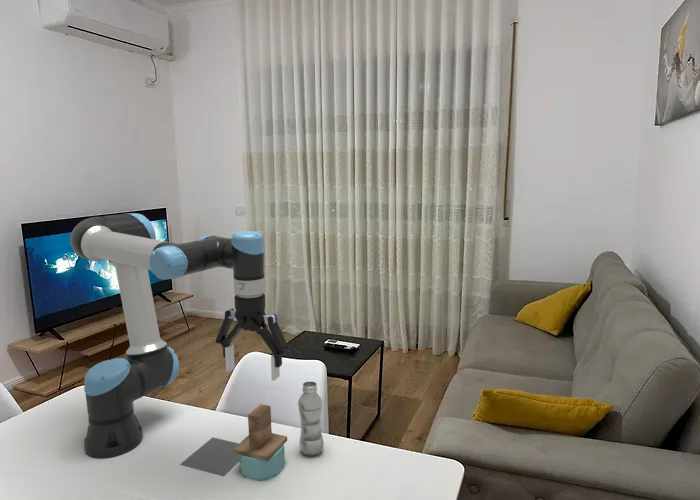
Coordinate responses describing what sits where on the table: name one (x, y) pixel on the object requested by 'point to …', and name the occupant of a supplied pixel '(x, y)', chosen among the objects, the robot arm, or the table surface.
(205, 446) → the mat
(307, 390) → the plastic bottle
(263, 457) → the cover lid
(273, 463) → the bowl
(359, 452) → the table surface
